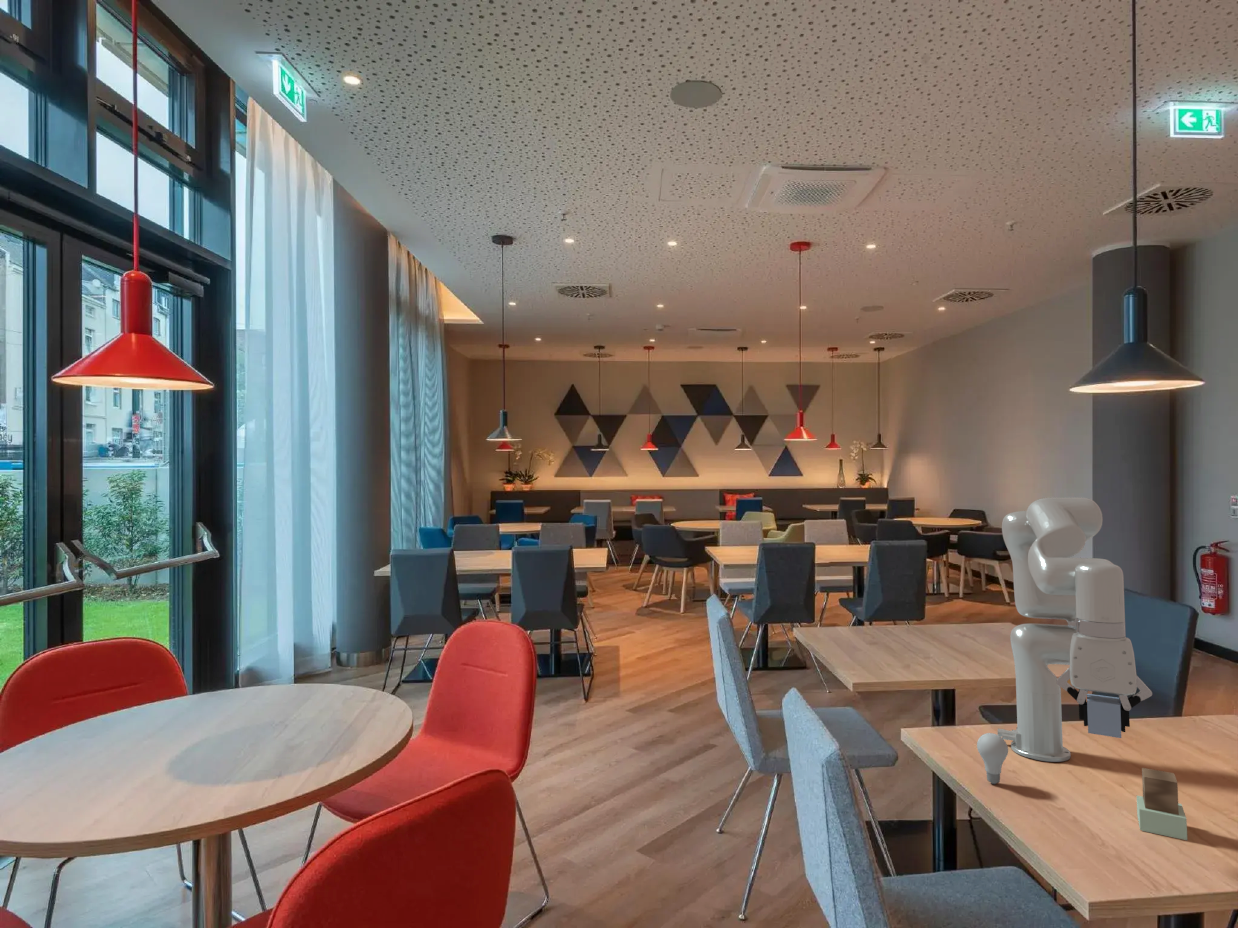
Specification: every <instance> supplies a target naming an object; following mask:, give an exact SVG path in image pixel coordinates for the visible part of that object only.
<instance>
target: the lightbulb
mask: <svg viewBox="0 0 1238 928" xmlns="http://www.w3.org/2000/svg"><path fill="white" fill-rule="evenodd" d="M976 748H977V751H978V753H979V755H980V757H981V759H982V760H983V764H984V770H985V771H986V774H985V775H986V780H987V781H988V782H989V783H991V784H992V785H997V784H999V783H1000V782H1001V773H1002V767H1003V763H1004V762H1005V760H1006V758H1007V756H1008V754H1009V748H1008V744H1007V742H1006V740H1005V739H1003V738H1002V737H1000V736H999V735H998V733H997V734H996V733H992V732H987V733H983V734H982V735H981V736H979V738H978V739H977V742H976Z"/></svg>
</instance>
